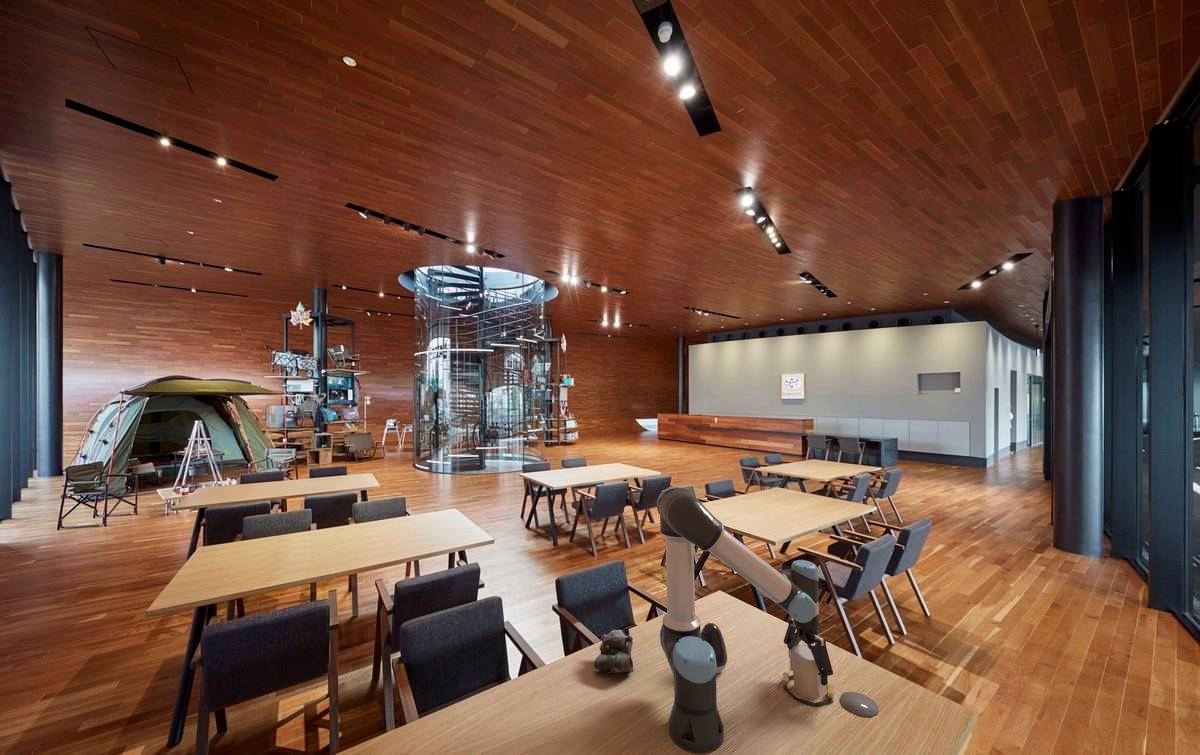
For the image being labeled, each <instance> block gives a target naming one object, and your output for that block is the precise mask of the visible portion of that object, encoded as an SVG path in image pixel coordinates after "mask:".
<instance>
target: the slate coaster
mask: <svg viewBox="0 0 1200 755" xmlns="http://www.w3.org/2000/svg"><path fill="white" fill-rule="evenodd" d="M839 699H840V703H841V705H842V706H843V707H844V708H845V709H846V710H847V711H849V712H850V713H853V714H855V715H857V716H860V717H865V718H866V717H867V718H872V717H875V716H877V715H878V714H879V712H880V711H879V705H878V704H877V702H876V701H875V700H873V699H872V698H871V697H869V696H868V695H866V694H863V693H860V692H857V691H846V692H842V694H840V698H839Z"/></svg>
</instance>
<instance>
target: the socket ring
mask: <svg viewBox="0 0 1200 755" xmlns="http://www.w3.org/2000/svg"><path fill="white" fill-rule="evenodd" d="M791 680H794V677H793V674H792V675H790V673H789V672H785V671H783V673H782V678H781V688H782V689H783V691H785V693H786V694H788V696H789V697H790V698H792V699H793V701H796V702H797V703H799V704H800V703H801V704H804V705H807V706H811V707H814V708H818V707H823V706H826V705H831V704H832V703H834V701H835V700H834V699H835V697H834V696H835V686H834V685H833V684H830V683H828V684H827V694H826V695H827V699H825V700H821V701H817V702H813V701H811V700H807V699H803V698H800V697H797V696H796V694H794V693H793V691H791V690H790V689H789V684H790V683H789V682H790V681H791Z"/></svg>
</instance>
